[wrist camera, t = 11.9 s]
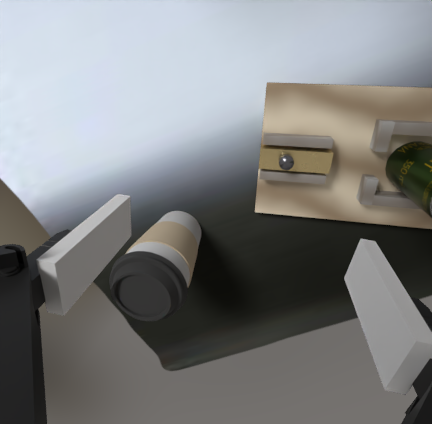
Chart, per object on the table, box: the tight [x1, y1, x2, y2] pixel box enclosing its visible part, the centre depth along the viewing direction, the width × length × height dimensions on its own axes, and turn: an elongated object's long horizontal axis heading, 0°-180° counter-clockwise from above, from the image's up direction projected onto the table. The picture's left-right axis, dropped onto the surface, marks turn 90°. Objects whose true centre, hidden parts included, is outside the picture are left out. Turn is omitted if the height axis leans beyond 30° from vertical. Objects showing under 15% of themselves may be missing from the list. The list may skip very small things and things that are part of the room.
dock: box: [255, 83, 432, 229], centre depth 33 cm, size 16×24×3 cm, turn 88°
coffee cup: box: [110, 211, 201, 321], centre depth 37 cm, size 9×9×15 cm
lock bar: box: [259, 144, 333, 174], centre depth 33 cm, size 2×8×3 cm, turn 88°
